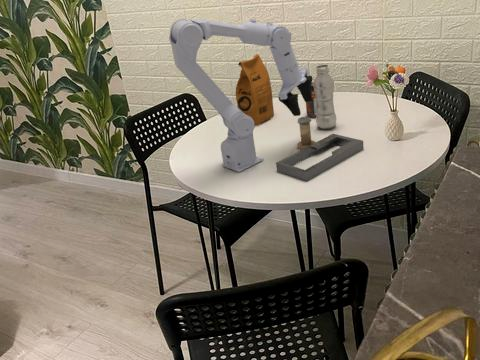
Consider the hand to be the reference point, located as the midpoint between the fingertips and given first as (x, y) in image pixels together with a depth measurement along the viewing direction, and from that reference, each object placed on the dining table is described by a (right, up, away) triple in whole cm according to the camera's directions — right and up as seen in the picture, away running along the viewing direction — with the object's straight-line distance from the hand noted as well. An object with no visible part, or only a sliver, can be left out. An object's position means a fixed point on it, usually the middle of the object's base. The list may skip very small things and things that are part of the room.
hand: (303, 108), depth 149 cm
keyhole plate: (+5, -15, -6) cm, 17 cm away
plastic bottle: (+10, -4, +16) cm, 19 cm away
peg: (+1, -11, +4) cm, 12 cm away
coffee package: (-12, 0, +32) cm, 34 cm away
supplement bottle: (+8, +1, +27) cm, 28 cm away
